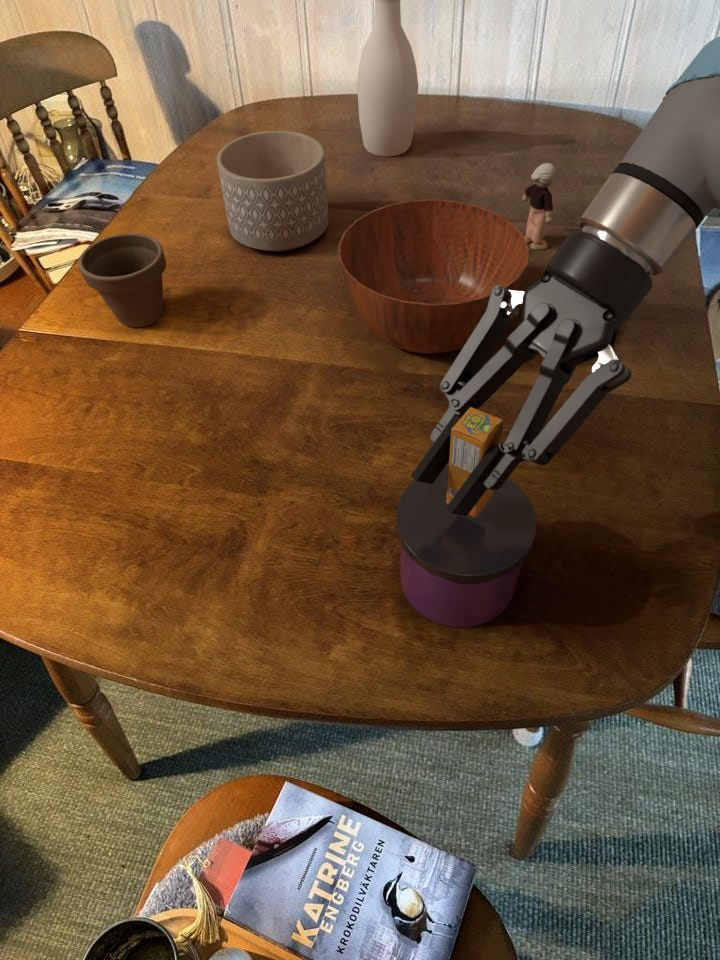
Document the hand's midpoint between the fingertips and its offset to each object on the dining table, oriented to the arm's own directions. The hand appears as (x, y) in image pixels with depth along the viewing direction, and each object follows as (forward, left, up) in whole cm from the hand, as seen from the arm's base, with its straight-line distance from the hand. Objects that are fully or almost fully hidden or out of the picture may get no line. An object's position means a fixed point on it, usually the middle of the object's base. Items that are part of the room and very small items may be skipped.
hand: (439, 495), depth 61 cm
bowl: (+15, -43, -16) cm, 49 cm away
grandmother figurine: (+6, -68, -16) cm, 71 cm away
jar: (-2, -3, -16) cm, 17 cm away
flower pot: (+55, -29, -16) cm, 65 cm away
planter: (+46, -57, -16) cm, 75 cm away
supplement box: (-2, -3, -4) cm, 5 cm away
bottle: (+40, -91, -16) cm, 101 cm away
